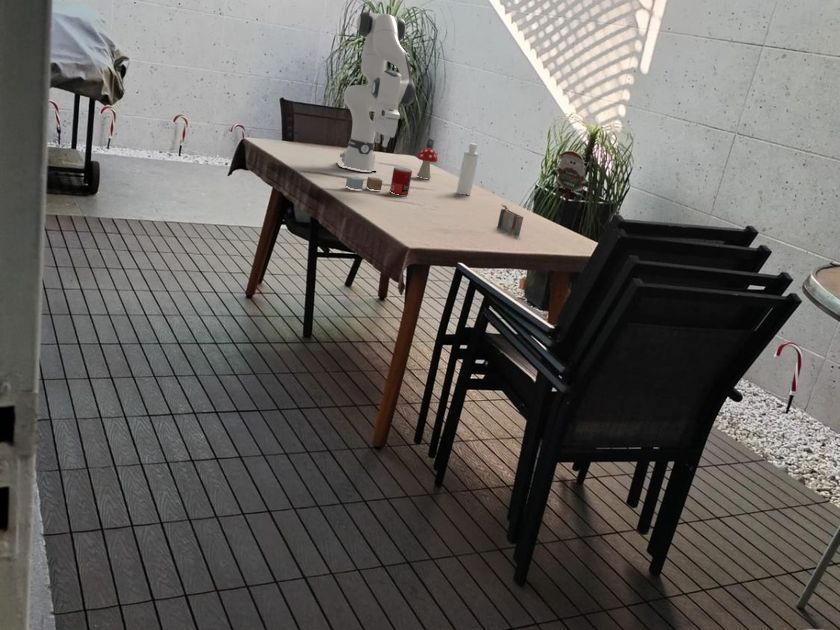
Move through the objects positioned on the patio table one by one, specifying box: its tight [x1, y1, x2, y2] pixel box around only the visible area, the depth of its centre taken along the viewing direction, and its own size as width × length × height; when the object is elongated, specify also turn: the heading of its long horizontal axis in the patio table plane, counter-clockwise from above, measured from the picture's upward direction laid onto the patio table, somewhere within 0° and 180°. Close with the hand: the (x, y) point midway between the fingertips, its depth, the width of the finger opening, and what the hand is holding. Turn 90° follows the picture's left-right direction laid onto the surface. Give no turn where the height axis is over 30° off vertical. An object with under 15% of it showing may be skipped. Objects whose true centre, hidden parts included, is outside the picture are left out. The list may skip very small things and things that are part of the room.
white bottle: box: [456, 142, 479, 196], centre depth 374 cm, size 7×7×25 cm
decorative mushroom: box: [416, 147, 438, 180], centre depth 398 cm, size 10×9×15 cm
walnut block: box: [365, 176, 383, 190], centre depth 344 cm, size 5×5×5 cm
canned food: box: [389, 166, 413, 196], centre depth 346 cm, size 8×8×11 cm
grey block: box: [345, 176, 365, 190], centre depth 337 cm, size 5×5×5 cm
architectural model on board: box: [497, 203, 524, 236], centre depth 314 cm, size 11×3×10 cm, turn 30°
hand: (380, 144), depth 339 cm, fingers open, 8 cm apart
